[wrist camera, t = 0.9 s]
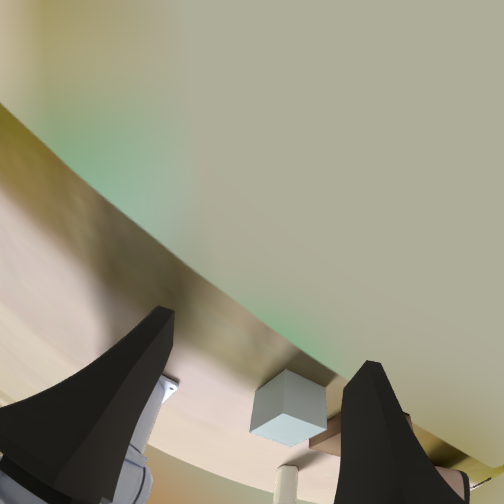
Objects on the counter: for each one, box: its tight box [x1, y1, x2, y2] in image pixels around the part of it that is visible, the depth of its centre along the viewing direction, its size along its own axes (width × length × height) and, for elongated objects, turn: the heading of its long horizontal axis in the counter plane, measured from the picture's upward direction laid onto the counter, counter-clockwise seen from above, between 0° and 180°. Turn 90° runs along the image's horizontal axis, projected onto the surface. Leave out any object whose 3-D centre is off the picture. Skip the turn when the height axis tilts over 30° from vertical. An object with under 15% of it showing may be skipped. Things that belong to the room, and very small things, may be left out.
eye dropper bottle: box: [273, 465, 298, 504], centre depth 35 cm, size 4×6×12 cm
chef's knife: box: [470, 478, 491, 489], centre depth 54 cm, size 19×1×3 cm
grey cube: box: [249, 369, 327, 447], centre depth 26 cm, size 5×5×5 cm
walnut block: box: [309, 412, 413, 457], centre depth 30 cm, size 9×9×3 cm
